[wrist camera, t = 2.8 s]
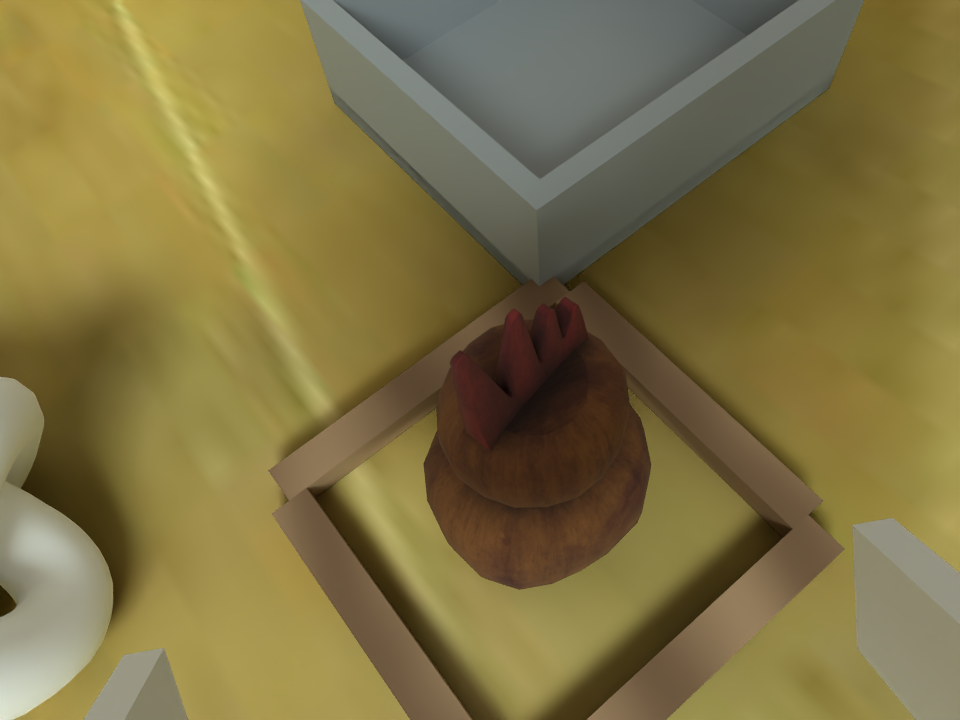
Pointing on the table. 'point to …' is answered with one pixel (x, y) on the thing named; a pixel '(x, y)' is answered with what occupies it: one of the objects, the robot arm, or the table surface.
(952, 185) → the table surface
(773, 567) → the socket ring
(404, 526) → the table surface
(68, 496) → the table surface
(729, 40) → the bin
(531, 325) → the wooden figurine
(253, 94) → the table surface
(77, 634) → the white knot sculpture
